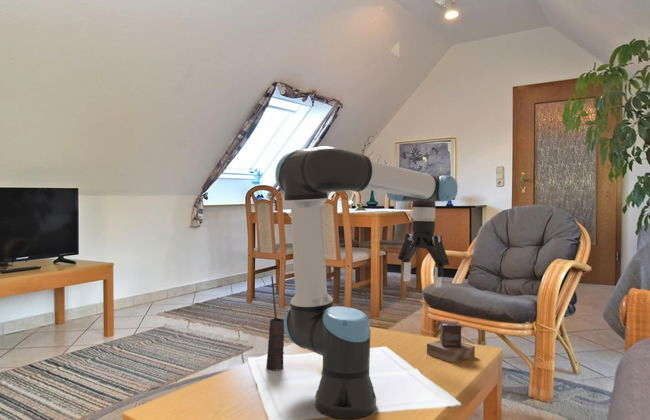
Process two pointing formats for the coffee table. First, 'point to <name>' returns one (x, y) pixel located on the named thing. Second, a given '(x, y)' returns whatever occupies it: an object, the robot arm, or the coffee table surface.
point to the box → (450, 334)
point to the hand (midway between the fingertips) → (421, 284)
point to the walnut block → (451, 351)
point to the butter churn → (275, 341)
